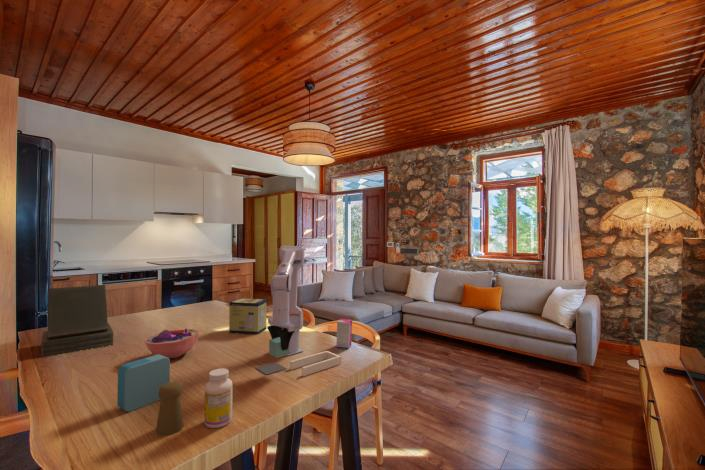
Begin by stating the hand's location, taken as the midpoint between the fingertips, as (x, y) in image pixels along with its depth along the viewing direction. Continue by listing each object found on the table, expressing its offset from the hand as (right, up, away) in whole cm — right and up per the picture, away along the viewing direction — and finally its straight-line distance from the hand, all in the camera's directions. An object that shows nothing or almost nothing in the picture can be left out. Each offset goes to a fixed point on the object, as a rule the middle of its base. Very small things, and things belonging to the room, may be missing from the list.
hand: (280, 347), depth 116 cm
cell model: (-46, -9, +15) cm, 49 cm away
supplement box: (+22, -10, +28) cm, 37 cm away
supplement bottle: (-9, -9, -31) cm, 34 cm away
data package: (-34, -9, -22) cm, 41 cm away
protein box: (-28, -9, +51) cm, 59 cm away
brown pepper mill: (-20, -9, -34) cm, 40 cm away
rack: (+12, -9, +6) cm, 16 cm away
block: (0, -2, 0) cm, 2 cm away
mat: (-4, -9, +3) cm, 10 cm away
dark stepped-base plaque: (-94, -9, +27) cm, 98 cm away
